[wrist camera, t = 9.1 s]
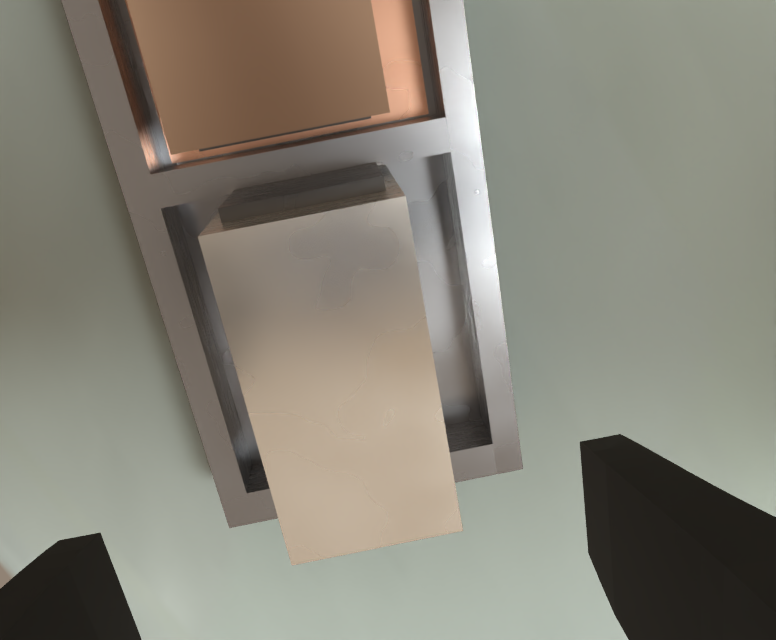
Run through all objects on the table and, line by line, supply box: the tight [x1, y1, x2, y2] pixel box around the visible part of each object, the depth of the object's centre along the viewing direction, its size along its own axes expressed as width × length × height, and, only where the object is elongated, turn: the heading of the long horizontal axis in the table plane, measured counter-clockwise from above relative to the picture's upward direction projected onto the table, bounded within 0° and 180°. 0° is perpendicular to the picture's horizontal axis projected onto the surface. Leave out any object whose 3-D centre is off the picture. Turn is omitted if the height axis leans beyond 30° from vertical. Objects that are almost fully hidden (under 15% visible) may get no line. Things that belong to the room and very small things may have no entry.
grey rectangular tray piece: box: [61, 0, 523, 565], centre depth 15 cm, size 8×22×6 cm, turn 10°
